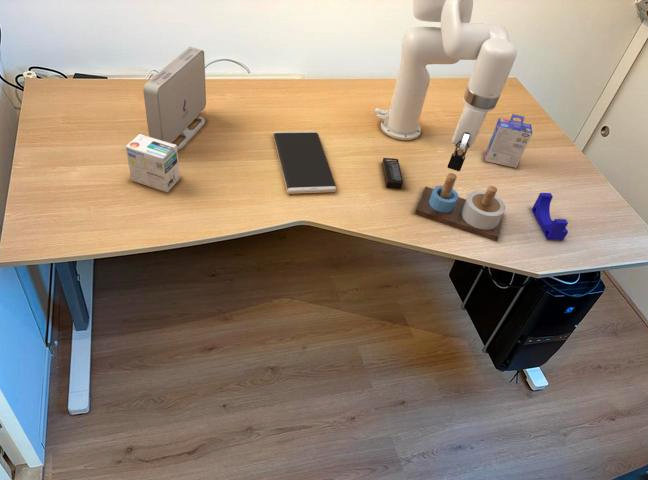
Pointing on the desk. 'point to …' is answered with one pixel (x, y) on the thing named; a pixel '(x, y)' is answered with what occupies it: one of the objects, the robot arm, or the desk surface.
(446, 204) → the tape roll
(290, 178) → the smartphone
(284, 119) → the desk surface
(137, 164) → the light bulb box
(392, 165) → the multiport hub
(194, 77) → the network device
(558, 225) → the cable clip
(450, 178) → the tape stand
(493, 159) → the ink cartridge box
